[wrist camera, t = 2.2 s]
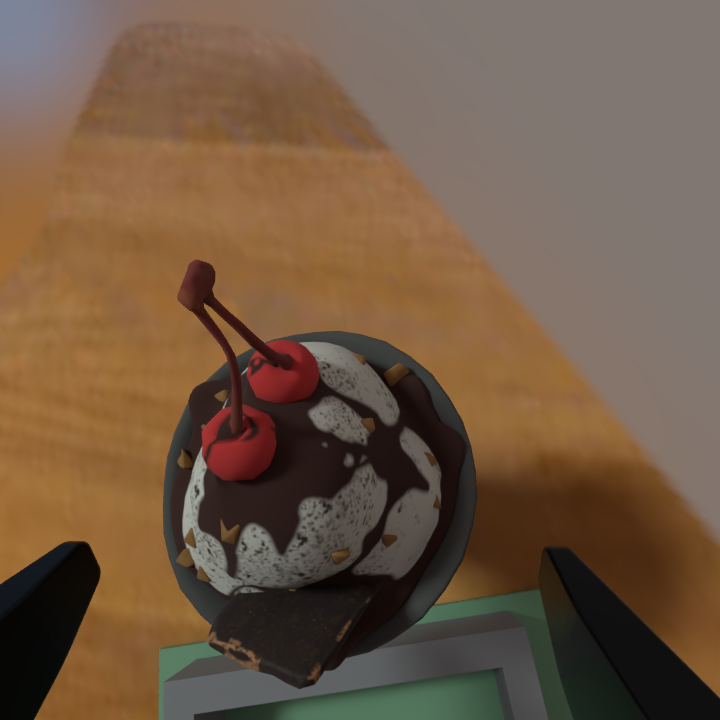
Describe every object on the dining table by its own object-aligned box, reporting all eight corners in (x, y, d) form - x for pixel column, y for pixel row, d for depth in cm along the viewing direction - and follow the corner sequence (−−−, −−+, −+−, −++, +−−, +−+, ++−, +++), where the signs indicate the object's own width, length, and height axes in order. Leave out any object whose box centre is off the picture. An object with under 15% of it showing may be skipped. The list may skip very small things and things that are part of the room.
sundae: (346, 389, 20) (218, 98, 6) (468, 483, 18) (691, 378, 4) (248, 506, 19) (-205, 479, 5) (370, 621, 17) (220, 1139, 3)
